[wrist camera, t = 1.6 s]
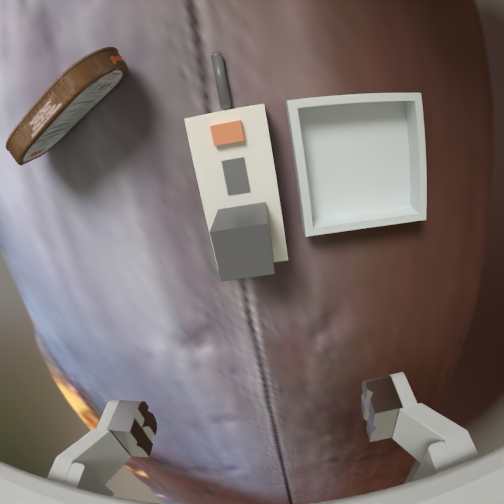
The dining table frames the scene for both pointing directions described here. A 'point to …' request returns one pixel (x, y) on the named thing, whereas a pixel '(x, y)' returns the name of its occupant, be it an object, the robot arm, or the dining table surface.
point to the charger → (243, 242)
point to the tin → (66, 103)
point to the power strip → (236, 160)
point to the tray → (358, 160)
